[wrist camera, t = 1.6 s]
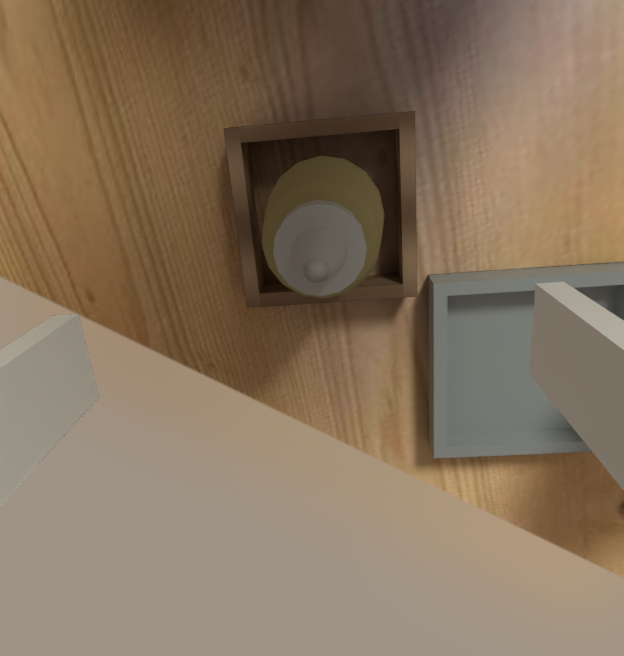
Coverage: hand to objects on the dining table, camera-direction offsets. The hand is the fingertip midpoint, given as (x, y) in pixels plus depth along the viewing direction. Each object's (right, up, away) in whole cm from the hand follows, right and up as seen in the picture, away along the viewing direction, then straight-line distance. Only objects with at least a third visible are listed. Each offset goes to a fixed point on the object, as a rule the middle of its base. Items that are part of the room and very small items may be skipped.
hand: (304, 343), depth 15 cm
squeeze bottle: (+1, +9, +24) cm, 26 cm away
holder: (+1, +9, +24) cm, 26 cm away
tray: (+17, -2, +27) cm, 32 cm away
